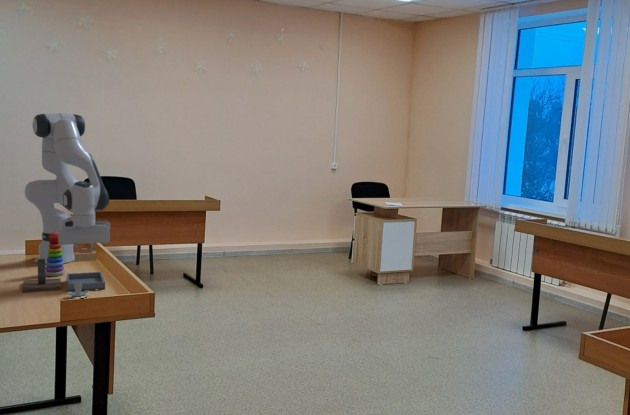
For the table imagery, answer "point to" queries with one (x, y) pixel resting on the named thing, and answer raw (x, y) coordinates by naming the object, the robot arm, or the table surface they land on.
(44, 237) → the robot arm
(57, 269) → the stacking toy
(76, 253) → the light brown flat block
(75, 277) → the tray
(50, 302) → the table surface
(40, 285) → the post stand
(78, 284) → the pacifier
